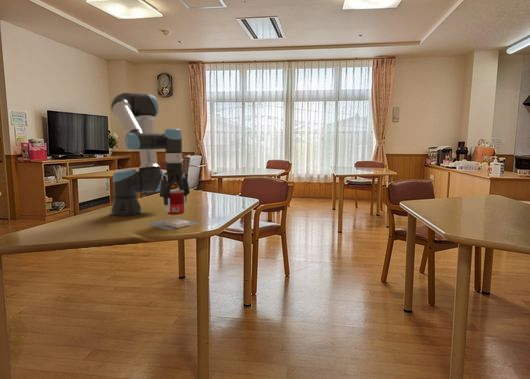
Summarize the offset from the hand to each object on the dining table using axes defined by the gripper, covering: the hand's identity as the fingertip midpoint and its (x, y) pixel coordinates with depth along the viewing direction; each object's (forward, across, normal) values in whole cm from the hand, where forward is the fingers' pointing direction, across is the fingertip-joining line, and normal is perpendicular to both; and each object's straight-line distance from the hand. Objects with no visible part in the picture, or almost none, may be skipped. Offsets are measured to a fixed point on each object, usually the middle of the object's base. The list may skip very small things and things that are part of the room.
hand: (175, 210), depth 175 cm
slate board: (+6, -5, -5) cm, 9 cm away
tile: (+4, -6, -5) cm, 9 cm away
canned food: (+2, 0, 0) cm, 2 cm away
